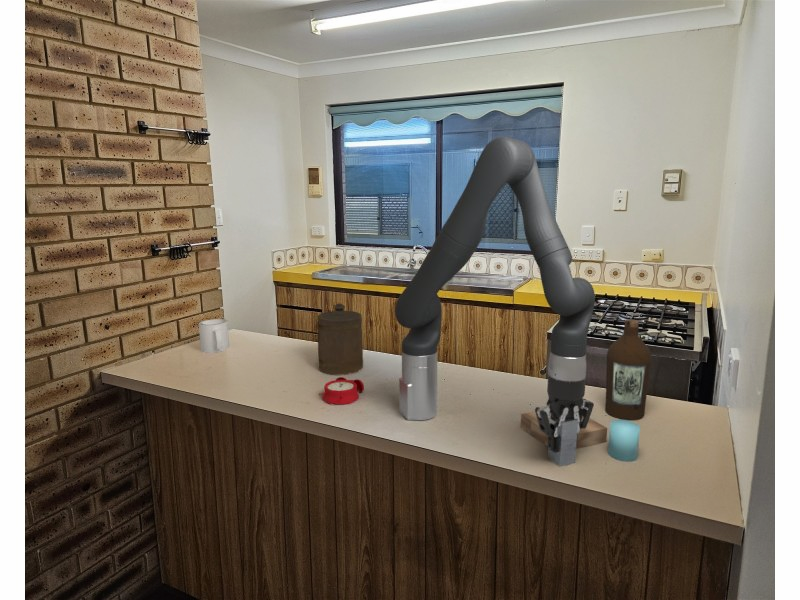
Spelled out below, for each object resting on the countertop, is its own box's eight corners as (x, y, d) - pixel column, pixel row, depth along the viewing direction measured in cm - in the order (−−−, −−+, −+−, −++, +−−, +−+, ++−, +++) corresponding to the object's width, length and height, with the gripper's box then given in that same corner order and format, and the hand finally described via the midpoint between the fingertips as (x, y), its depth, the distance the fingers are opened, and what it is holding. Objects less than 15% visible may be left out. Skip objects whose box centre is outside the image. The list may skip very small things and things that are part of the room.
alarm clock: (313, 391, 142) (337, 364, 154) (316, 410, 144) (340, 381, 157) (346, 396, 138) (369, 368, 151) (349, 415, 140) (371, 386, 153)
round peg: (622, 463, 109) (624, 433, 108) (601, 451, 115) (604, 422, 113) (643, 458, 111) (646, 428, 110) (622, 446, 117) (625, 417, 115)
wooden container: (363, 360, 180) (362, 299, 175) (362, 374, 165) (360, 308, 161) (321, 361, 179) (319, 299, 175) (316, 375, 165) (313, 309, 160)
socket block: (556, 453, 114) (557, 438, 113) (520, 427, 127) (521, 414, 126) (606, 441, 119) (607, 427, 118) (566, 418, 132) (567, 405, 131)
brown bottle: (602, 402, 141) (609, 314, 136) (645, 407, 137) (653, 317, 132) (602, 417, 132) (609, 323, 126) (648, 424, 128) (657, 327, 123)
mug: (235, 352, 190) (233, 324, 188) (207, 357, 185) (205, 328, 183) (224, 343, 201) (222, 317, 199) (197, 348, 195) (195, 321, 193)
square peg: (559, 466, 108) (562, 422, 106) (548, 457, 112) (550, 415, 110) (575, 462, 110) (578, 419, 108) (563, 454, 113) (565, 412, 111)
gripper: (549, 384, 101) (545, 463, 104) (606, 374, 106) (601, 450, 109) (527, 372, 108) (524, 447, 111) (582, 363, 113) (577, 435, 116)
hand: (562, 448), depth 110 cm, fingers closed on square peg, 4 cm apart
